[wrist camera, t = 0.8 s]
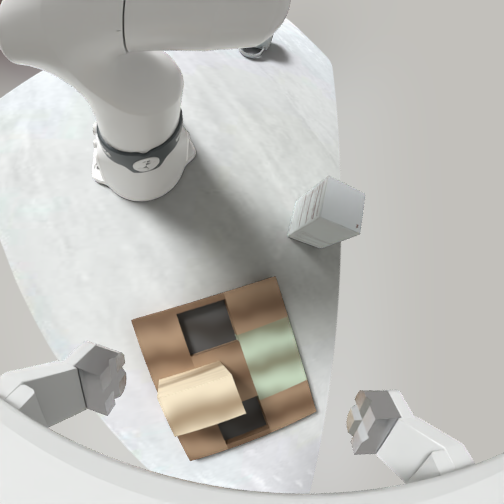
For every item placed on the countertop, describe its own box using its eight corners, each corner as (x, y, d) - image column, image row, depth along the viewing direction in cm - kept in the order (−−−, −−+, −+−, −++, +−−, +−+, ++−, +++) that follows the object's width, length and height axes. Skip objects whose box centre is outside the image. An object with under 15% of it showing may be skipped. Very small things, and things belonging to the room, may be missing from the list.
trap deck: (132, 319, 42) (131, 320, 40) (271, 277, 50) (275, 276, 48) (189, 455, 40) (190, 461, 38) (311, 408, 48) (316, 411, 46)
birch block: (159, 379, 40) (157, 398, 31) (219, 360, 43) (231, 374, 34) (172, 412, 39) (175, 436, 31) (231, 393, 42) (246, 413, 34)
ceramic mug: (236, 31, 58) (244, 10, 50) (267, 39, 60) (277, 19, 53) (231, 55, 56) (239, 33, 49) (265, 63, 58) (275, 42, 51)
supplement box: (328, 214, 55) (367, 193, 43) (320, 250, 53) (361, 236, 41) (294, 199, 53) (328, 173, 41) (285, 236, 52) (319, 217, 40)
